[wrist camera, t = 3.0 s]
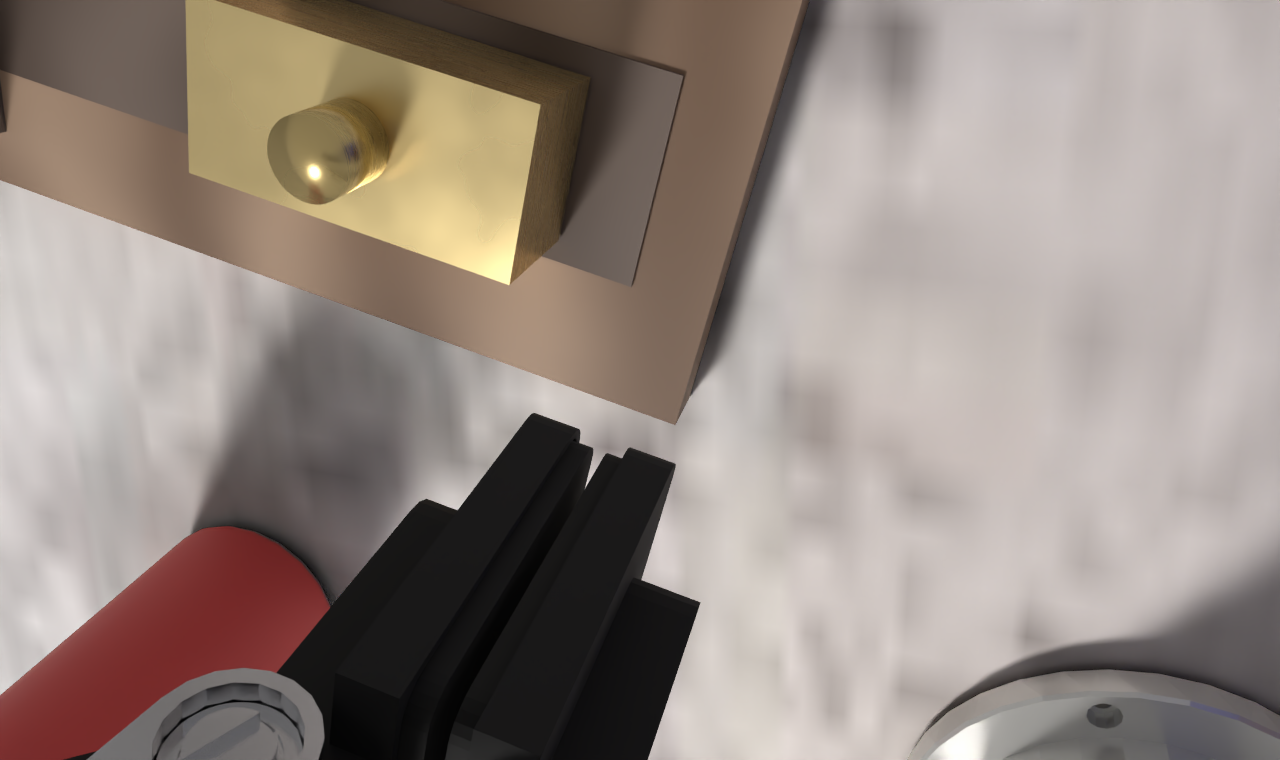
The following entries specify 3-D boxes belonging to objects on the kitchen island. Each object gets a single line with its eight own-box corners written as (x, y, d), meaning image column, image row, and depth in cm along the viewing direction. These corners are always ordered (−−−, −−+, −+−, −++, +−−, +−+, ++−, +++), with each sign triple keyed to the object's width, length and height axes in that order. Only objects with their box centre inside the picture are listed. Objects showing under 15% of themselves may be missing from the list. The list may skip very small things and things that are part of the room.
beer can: (179, 492, 34) (-154, 755, 24) (345, 552, 33) (69, 854, 23) (190, 624, 37) (-99, 905, 27) (340, 683, 36) (98, 998, 26)
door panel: (831, -71, 20) (821, -67, 19) (689, 398, 26) (674, 426, 25) (-244, -373, 24) (-317, -388, 22) (-148, 98, 30) (-201, 109, 29)
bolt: (590, 77, 21) (507, 122, 17) (558, 240, 23) (477, 313, 19) (273, -23, 22) (127, -2, 18) (269, 141, 24) (137, 192, 20)
